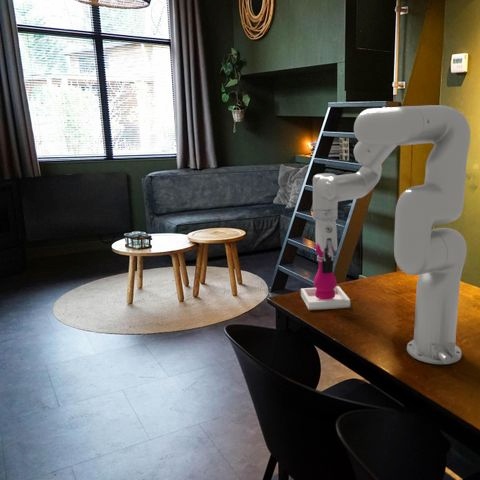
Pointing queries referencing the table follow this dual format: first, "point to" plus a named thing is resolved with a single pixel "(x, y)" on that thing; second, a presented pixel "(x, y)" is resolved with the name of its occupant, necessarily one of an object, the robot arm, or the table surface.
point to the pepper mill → (324, 279)
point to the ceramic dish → (316, 303)
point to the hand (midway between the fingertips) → (325, 269)
